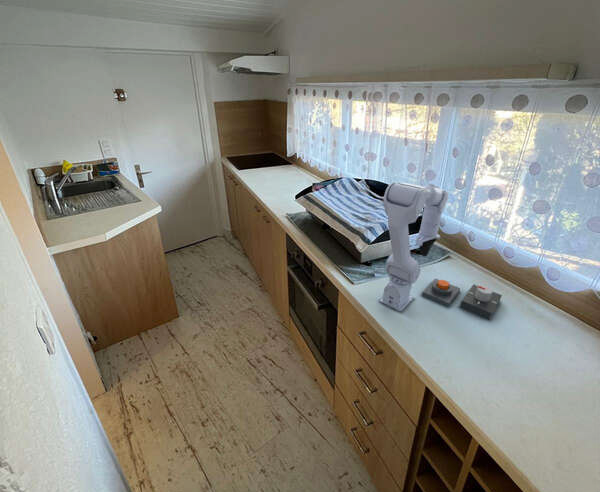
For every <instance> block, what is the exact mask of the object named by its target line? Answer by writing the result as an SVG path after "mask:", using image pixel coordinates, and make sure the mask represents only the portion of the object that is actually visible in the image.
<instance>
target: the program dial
mask: <svg viewBox="0 0 600 492" xmlns="http://www.w3.org/2000/svg"><path fill="white" fill-rule="evenodd" d="M477 286H478V287H477V290H476V293H475V297H476V299H478V300H480V301H483V302H488V301H489V300H490V297H491V295H492V292H494V290H493V289H492V288H491V287H490V286H487V285H482V284H481V285H477Z"/></svg>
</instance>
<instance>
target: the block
mask: <svg viewBox="0 0 600 492" xmlns="http://www.w3.org/2000/svg"><path fill="white" fill-rule="evenodd" d="M439 280H440V279H439V278H436V277H435V278H434V279H433V280H432V282H431V283H430V284H429V285H428V286H427V287H426V288H425V289H424V290H423V291H422V293H421V296H422V297H424V298H427V299H428V300H431V301H433V302H435V303H437V304H440V305H442V306H444V307H447V308H449V306H450V305H451V304H452V302H453V301H454V300H455V298H456V297H457V296H458V294H459V293H460V290H461V287H458V286H455V285H454V284H451V283H449V287H448V289H447V290H443V289H440V288H438V287H437V284H438V281H439Z"/></svg>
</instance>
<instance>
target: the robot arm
mask: <svg viewBox="0 0 600 492" xmlns="http://www.w3.org/2000/svg"><path fill="white" fill-rule="evenodd" d="M384 191H385V192H384V195H383V199H382V200H383V207H384V213H385V216H387V227H388V233H389V238H390V239H389V240H390V246H391V252H392V253H390V255H389V256H388V258H387V259H386V261H385V263H386V265H385V272H386V274H388V276H387V277H388V278H389V281H388V283H387V284H386V285H385V286H384V289H383V293H382V294H383V296H382V297H381V298H380V299H379V302H380V303H382V304H385V305H386V306H388V307H390V308H393V309H394V310H396V311H398V312H402V311H403V310H404V309H405V308H406V307H408V305H409V304H410V303H411V302H412V301H413V299H414V296H412V295H410V294H411V290H412V285H413V284H414V283H416V282H417V280H418V279H419V277H420V274H421V266H420V265H419V262H418V261H417V259H415V258H413V256H411V255H412V254H411V246H410V245H411V244H410V231H409V224H413V223H416V221H417V219H418V218H419V216H420V214H421V212H422V211H423V213H422V219H421V224H420V227H419V231H418V236H417V237H416V240H415V245H417V246H419V255H420V256H422V257H424V258H425V257H427V256H428V255H429V253H430V251H431V248H432V247H433V245H434V244H435V242H437V240H439V239H440V238H441V234H440V235H439V234H438V233H439V229H440V227H439V226H440V222H441V218H442V213H443V211H444V210H445V207H446V204H447V202H448V199H449V192H447V190H446V189H441V188H440V187H439V186H436V185H435V184H433V183H428V184H427V185H423V186H422V185H419V184H418V185H417V184H413V183H407V182H394V181H393V182H391V183H389V184H388V186H387V187H386V189H385V190H384Z"/></svg>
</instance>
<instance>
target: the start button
mask: <svg viewBox="0 0 600 492" xmlns="http://www.w3.org/2000/svg"><path fill="white" fill-rule="evenodd" d="M438 280H439V281H438V284H437V287H438V288H440V289H443V290H447V289H448V287H449V284H450V282H449V281H447V280H445V279H438Z"/></svg>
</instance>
